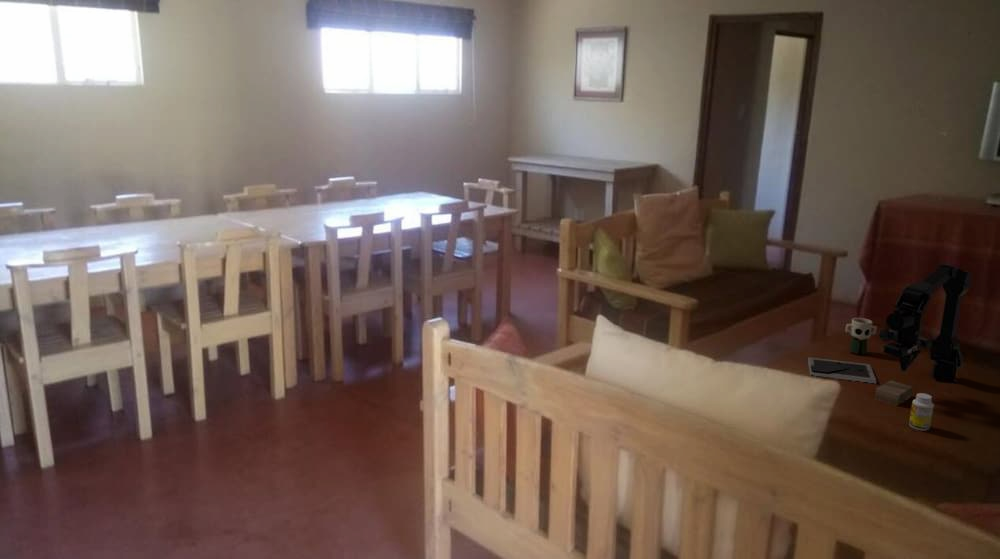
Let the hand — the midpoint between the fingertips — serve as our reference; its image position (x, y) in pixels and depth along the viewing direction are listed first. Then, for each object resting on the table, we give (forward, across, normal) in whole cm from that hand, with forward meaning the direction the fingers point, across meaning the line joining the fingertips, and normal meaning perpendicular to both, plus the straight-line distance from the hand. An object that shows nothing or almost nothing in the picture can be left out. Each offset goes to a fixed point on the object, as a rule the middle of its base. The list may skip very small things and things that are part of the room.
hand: (903, 370), depth 242 cm
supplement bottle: (+9, +18, +16) cm, 26 cm away
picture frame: (+10, -2, -23) cm, 25 cm away
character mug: (+9, -26, -31) cm, 42 cm away
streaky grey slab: (+7, -2, -1) cm, 7 cm away
